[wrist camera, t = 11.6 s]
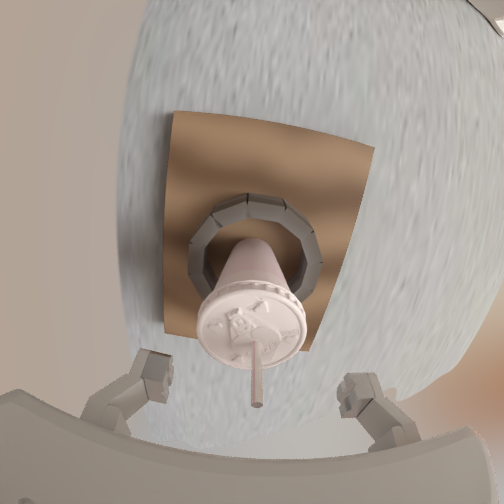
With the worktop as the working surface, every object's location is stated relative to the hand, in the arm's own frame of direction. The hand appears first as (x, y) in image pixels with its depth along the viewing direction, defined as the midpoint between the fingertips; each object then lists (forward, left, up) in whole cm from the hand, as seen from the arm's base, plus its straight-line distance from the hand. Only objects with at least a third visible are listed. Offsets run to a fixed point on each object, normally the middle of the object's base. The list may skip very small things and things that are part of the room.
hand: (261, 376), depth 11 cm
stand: (0, 0, -15) cm, 15 cm away
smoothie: (+1, +1, -13) cm, 13 cm away
